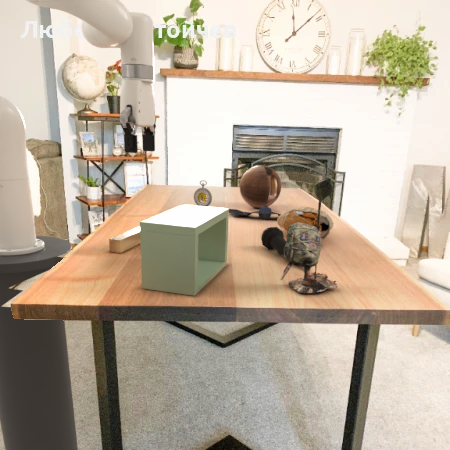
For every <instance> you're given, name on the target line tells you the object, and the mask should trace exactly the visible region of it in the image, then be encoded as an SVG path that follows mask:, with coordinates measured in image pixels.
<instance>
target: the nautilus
mask: <svg viewBox="0 0 450 450" xmlns="http://www.w3.org/2000/svg"><path fill="white" fill-rule="evenodd" d="M280 214H281V215H280V216H278V217H277V219H276V222H277V225H278V226H279V227H280V228H282V229H284V230H285V231H286V232H287V230H288V227H289V226H290V225H291V224H294V223H303V224H308V225H313V226H315V227H316V228H317V215H318V209H316V208H314V207H309V206H306V207H297V208H293V209H290V210H286V211H284V212H282V213H280ZM334 224H335V222H334V221H333V219H332V218H331V216H330V215H329V214H328V213H327V212H326V211H324V210H320V218H319V231H320V232H321V239H322V240H325V239H326V238H327V237H328V235H329V234H330V232H331V231H332V229H333V228H334V226H335V225H334Z"/></svg>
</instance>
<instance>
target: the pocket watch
mask: <svg viewBox="0 0 450 450" xmlns="http://www.w3.org/2000/svg"><path fill="white" fill-rule="evenodd" d="M204 183H205V184H204ZM207 184H208V182H207V181H206V180H200V181H199V185H200V186H201V187H199V188H197V189H196V190H195V191H194V193H193V201H194V203H195V204H196V206H207V207H210V205H211V203H212V201H213V195H212V192H211V191H210V190H209V189H208V188H206V187H205V186H206V185H207Z"/></svg>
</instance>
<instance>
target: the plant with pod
mask: <svg viewBox="0 0 450 450" xmlns="http://www.w3.org/2000/svg"><path fill="white" fill-rule="evenodd" d="M314 191H315V195H316V198H317V199H318V206H317V210H318V215H317V228H316V227H315V226H313V225H308V224H303V223H294V224H291V225H290V226H289V227H288V230H287V231H286V239H285V240H286V245H285V247H284V256H283V257H284V259H285V260H286V261H288V264H287V266H285V268H284V270H283V273H282V275H281V277H280V281H283V280H284V278H285V277H286V275H287V274H288V272H289V271H290V269H291V268H292V265H293V262H296V263H299V264H301V265H302V266H303V267H302V269H303V273H304V275H303V278H302V277H298V278H296V279H291V280H290V281H288V283H287V284H288V285H289V287H290V288H291V289H292V290H294V291H295V292H297V293H300V294H301V293H303V294H314V293H315V294H316V293H320V292H325V291H326V290H327V289H332V288H335V289H337V288H338V284H337V283H336V282H337V280H331V279H328V274H327V273H325V272H321V273H320V272H317V265H318V263H319V259H320V257H321V256H320V255H321V251H322V249H321V248H322V240H323V239H321V232H320V231H319V218H320V211H321V207H322V202H323V201H322V200H325V199H326V198H327V197H329V198H330V199H331V200H332V199H333V198H334V197H333V194H332V193H333V191H334V189H333V185H332V180H331V178H330V177H329V176H324V177H323V178H321V179H319V180H317V182H316V183H315V184H314ZM292 261H293V262H292ZM313 267H315V270H314V271H312V272H310V270H311V268H313Z"/></svg>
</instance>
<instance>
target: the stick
mask: <svg viewBox="0 0 450 450" xmlns="http://www.w3.org/2000/svg"><path fill="white" fill-rule="evenodd" d="M139 244H140V245H141V240H140V225H139V226H137V227H134V228H132V229H130V230H127V231H125V232H122V233H120V234H117V235H116V236H113V237H111V238H108V245H109V253H115V254H116V253H117V254H122V253H124V252H126V251H128V250H130V249H132V248H134V247H137V246H138V245H139Z"/></svg>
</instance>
